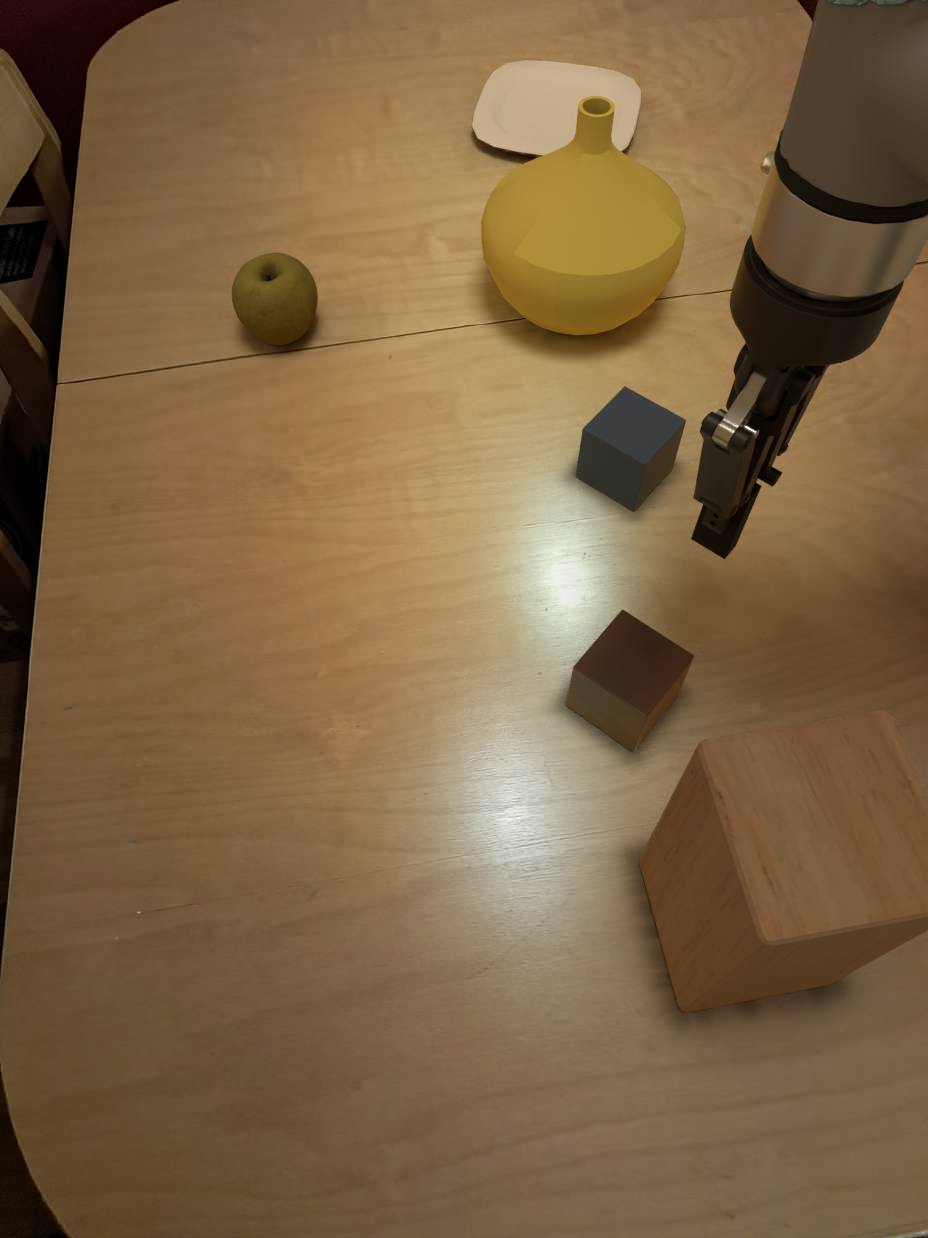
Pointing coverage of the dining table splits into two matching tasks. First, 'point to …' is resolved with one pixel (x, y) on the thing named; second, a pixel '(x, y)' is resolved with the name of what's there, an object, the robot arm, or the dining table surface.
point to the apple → (275, 298)
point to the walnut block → (627, 679)
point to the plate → (549, 105)
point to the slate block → (629, 447)
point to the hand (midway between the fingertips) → (713, 542)
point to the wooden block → (788, 859)
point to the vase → (583, 232)
